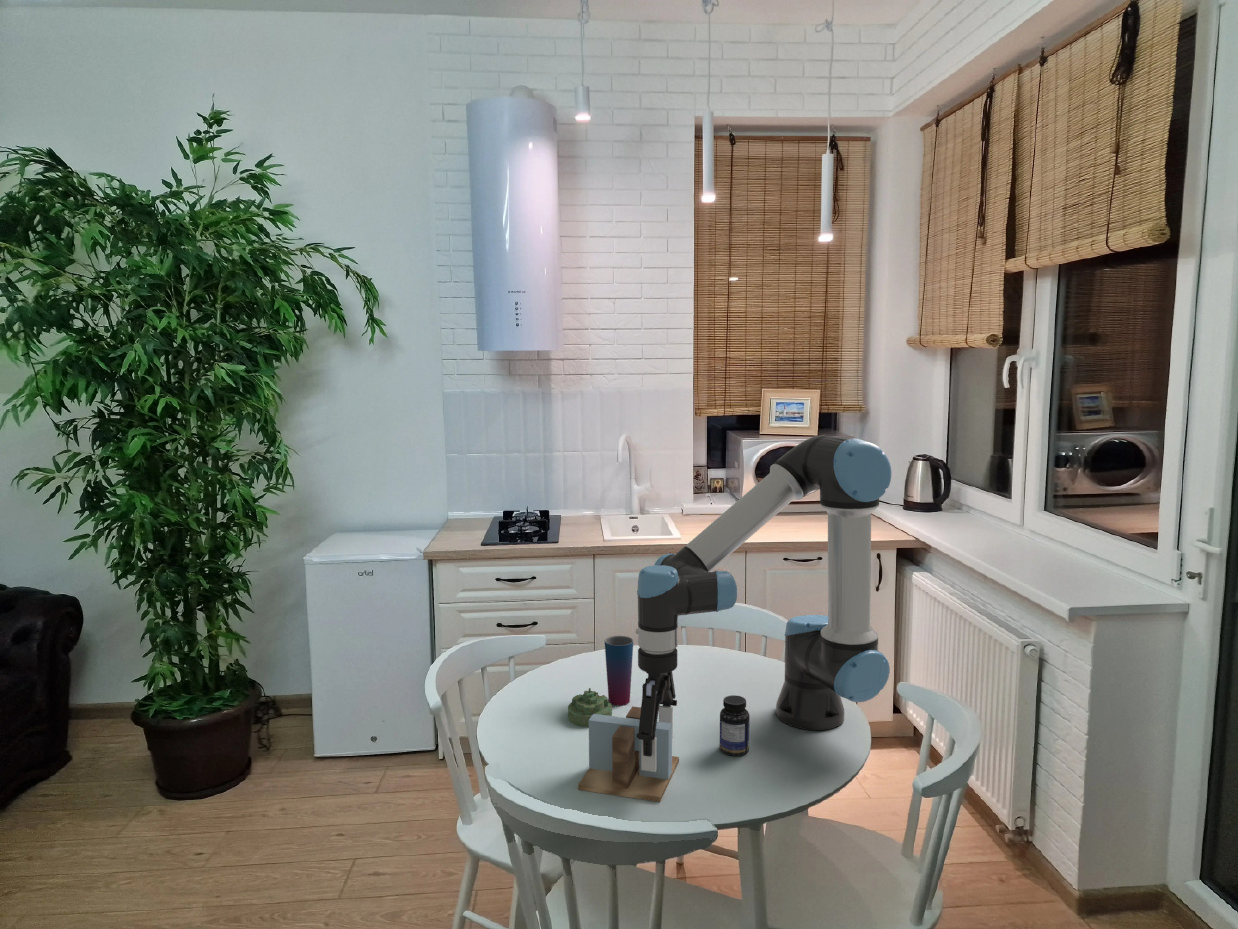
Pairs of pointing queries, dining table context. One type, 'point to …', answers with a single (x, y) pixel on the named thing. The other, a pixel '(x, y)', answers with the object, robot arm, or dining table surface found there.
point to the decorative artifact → (587, 707)
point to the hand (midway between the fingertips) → (657, 753)
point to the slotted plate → (602, 744)
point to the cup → (619, 668)
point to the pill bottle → (734, 726)
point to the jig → (626, 770)
